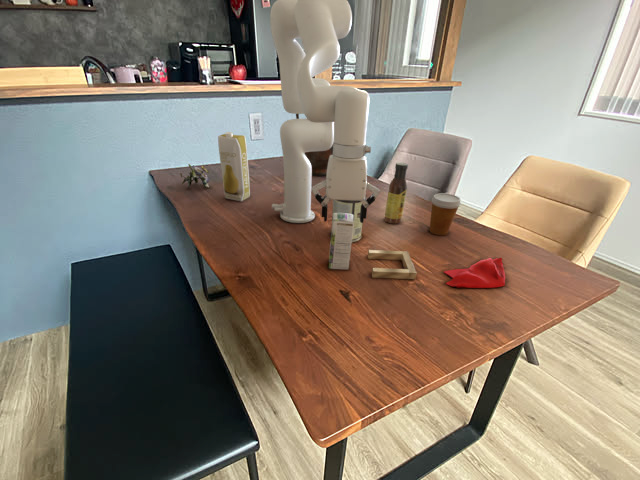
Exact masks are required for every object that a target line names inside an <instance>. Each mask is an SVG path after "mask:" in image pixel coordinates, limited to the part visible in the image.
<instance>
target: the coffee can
mask: <svg viewBox="0 0 640 480" xmlns="http://www.w3.org/2000/svg"><path fill="white" fill-rule="evenodd" d="M365 198H366V199H367V194H366V195H365ZM361 205H362V203H361V202H360V200H358V201H355V200H332V213H331V215H332V216H331V223H332V222H333V213H348V214H353V215H354V227H353V236H352V243H355V242H359V241H360V240H361V239H362V234H363V233H362V232H363V231H362V230H363V223H364V222H363V223H361V222H360V210H361ZM330 231H332V229H330Z"/></svg>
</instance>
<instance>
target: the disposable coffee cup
mask: <svg viewBox="0 0 640 480" xmlns="http://www.w3.org/2000/svg"><path fill="white" fill-rule="evenodd" d="M461 205H462V202H461V198H460V197H459V196H458V195H455V194H452V193H444V192H443V193H441V192H440V193H435V194H434V195H433V197H432V198H431V210H430V221H429V230H428V231H429V232H430V233H431V234H433V235H437V236H446V235H448V233H449V230H450V229H451V226H452V223H453V221H454V219H455V216H456V214H457V211H458V209H459V207H460V206H461Z"/></svg>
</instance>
